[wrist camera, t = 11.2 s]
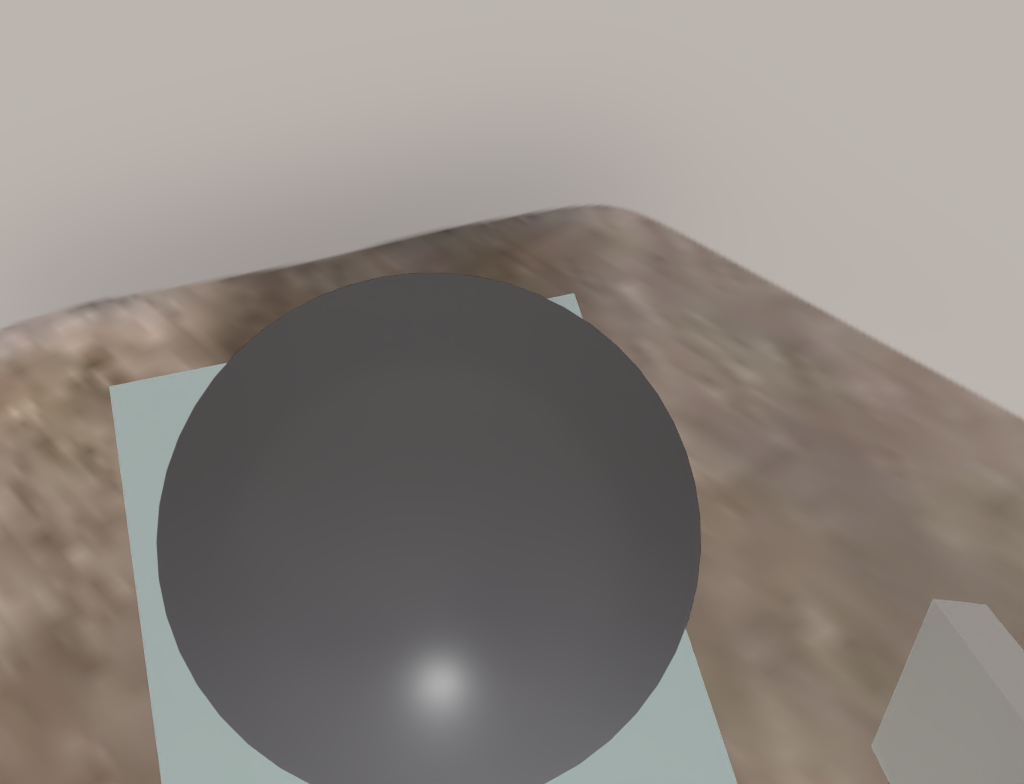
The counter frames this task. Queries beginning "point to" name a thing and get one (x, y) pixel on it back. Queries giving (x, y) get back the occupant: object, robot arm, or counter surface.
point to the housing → (248, 774)
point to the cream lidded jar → (428, 536)
